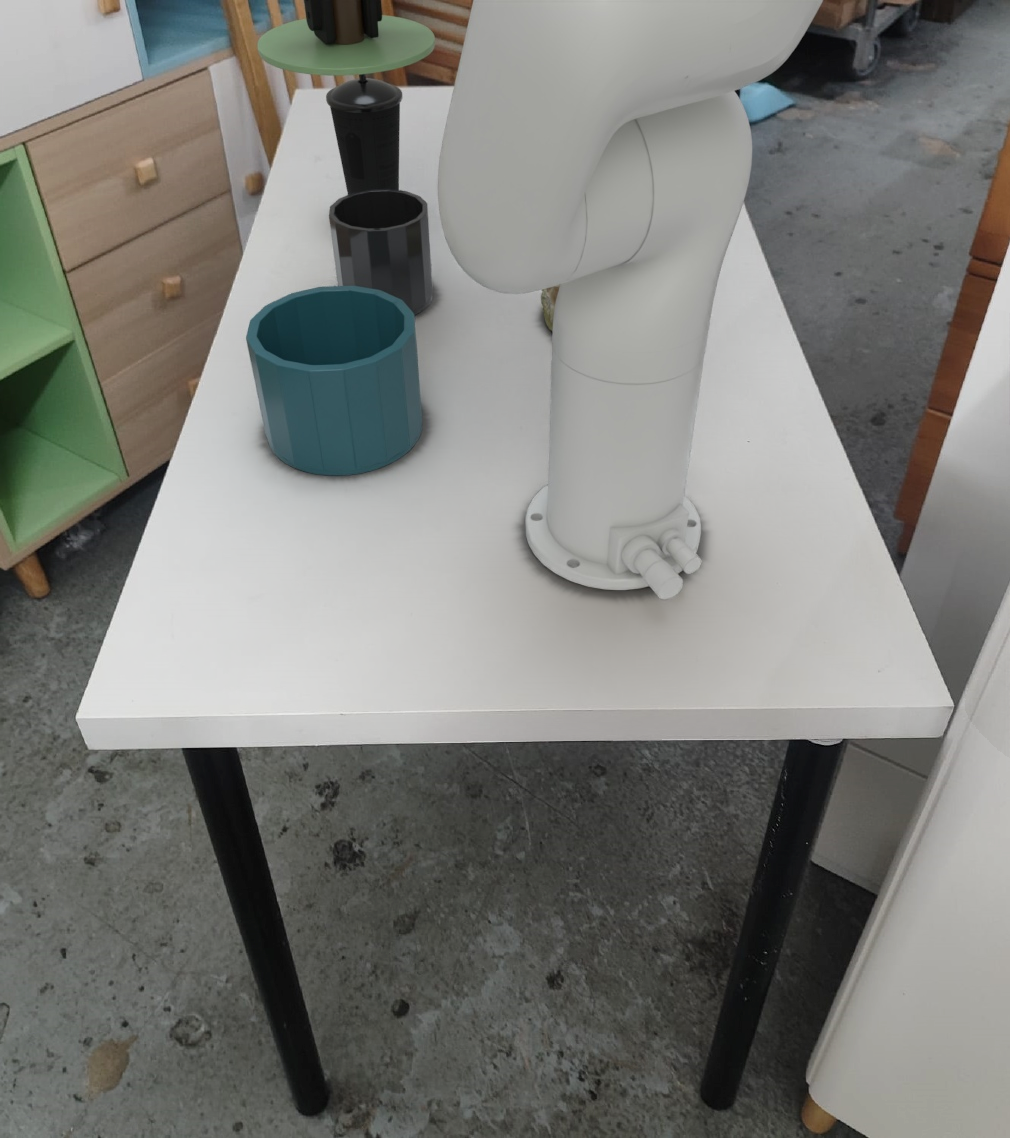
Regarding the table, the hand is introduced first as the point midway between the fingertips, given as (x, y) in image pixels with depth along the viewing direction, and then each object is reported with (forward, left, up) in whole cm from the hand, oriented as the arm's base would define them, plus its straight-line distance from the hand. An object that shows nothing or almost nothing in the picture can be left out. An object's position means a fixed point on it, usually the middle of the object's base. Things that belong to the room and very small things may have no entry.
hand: (346, 33), depth 79 cm
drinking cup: (+21, -8, -26) cm, 34 cm away
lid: (0, 0, -1) cm, 1 cm away
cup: (+5, -3, -25) cm, 26 cm away
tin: (-14, +8, -25) cm, 30 cm away
